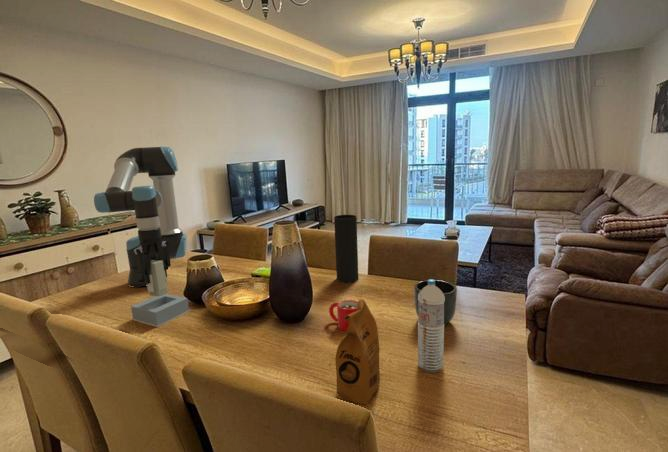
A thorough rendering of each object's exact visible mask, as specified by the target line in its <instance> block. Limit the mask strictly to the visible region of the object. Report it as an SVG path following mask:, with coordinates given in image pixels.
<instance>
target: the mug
mask: <svg viewBox="0 0 668 452" xmlns="http://www.w3.org/2000/svg"><path fill="white" fill-rule="evenodd" d="M357 303H358V301H357V300H353V299H350V300H348V299H345V300H342V301H340V302H333V303H331V305H330V306H329V309H328V312H329V316H330V318H331V320H333V321H335V322H337V327H338V329H339V330H341V331H343V332H346V331H347V329H348V327H349V325H350V324H349V320H344V317H346V316H347V315H349V314H351V313H354V312H356V311H357ZM335 308H336V309H337V315H335V313H334V309H335Z"/></svg>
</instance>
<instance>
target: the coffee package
mask: <svg viewBox="0 0 668 452" xmlns="http://www.w3.org/2000/svg"><path fill="white" fill-rule="evenodd" d="M357 302H358V303H357V311H356V312H354V313H351V314H349V315H347V316H346V317H344V320H349V324H350V325H349V327H348V329H347V331H345V333H344V335H343V337H342V339H341V340H340V342H339V343H338V346H337V349H336V353H335V357H334V360H335V372H336V395H337V396H338V397H339V399H342V400H347V401H349V402H352V403H353V402H354V403H355V404H356V405H357V404H358V405H367V404H368V403H369V402H370V400H371V398H372V396H373V394H375V393H376V392H377V391H378V389H379V387H380V381H381V376H380V341H379V339H380V338H379V331H378V325H377V322H376V319H375V317H374V315H373V314H372V312H371V310H370V308H369V306H368V304H367V303H366V301H365V299H363V298H362V299H359V300H358V301H357Z"/></svg>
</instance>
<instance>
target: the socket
mask: <svg viewBox="0 0 668 452" xmlns="http://www.w3.org/2000/svg"><path fill="white" fill-rule="evenodd" d="M189 308H190V307H189V300H188V298H187V297H183V296H179V295H174V294H169V293H165V294H163V295H161V296H154V297H153V296H152V297H151V298H148V299H146V300H143V301H141V302H139V303H136V304H134V305H131V306H130V309H131V315H132V320H133V321H135V322H139V323H142V324H144V325H149V326H153V327H156V328H159V327H162V326H163V325H166V324H167V323H170V322H171V321H173V320H175V319H177V318H179V317H181V316H183V315H185V314H188V313H189V312H190V309H189Z"/></svg>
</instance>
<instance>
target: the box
mask: <svg viewBox="0 0 668 452" xmlns="http://www.w3.org/2000/svg"><path fill="white" fill-rule="evenodd" d="M150 274H151V275H152V278H153V285H154V292H150V291H148V292H149V296H151V297H153V296H154V297H155V296H161V295H163V294H168V292H169V291H168V285H166V282H167V277H166V278H165V272H164V266H163V261H160V260H152V261H151V265H150Z"/></svg>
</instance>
